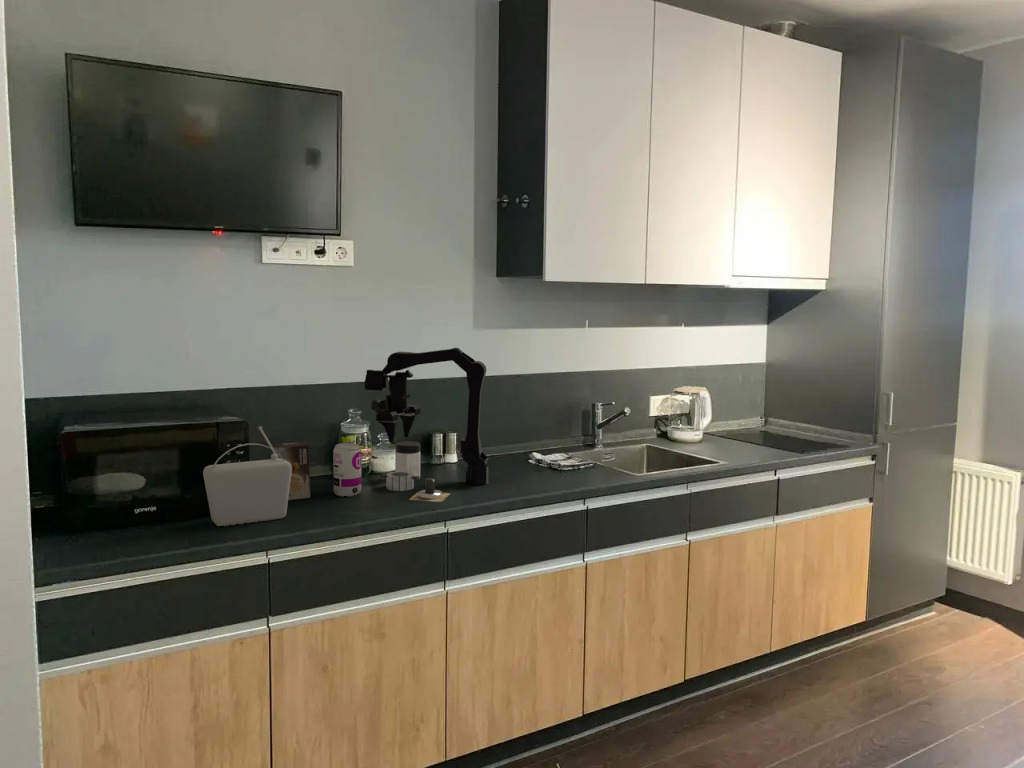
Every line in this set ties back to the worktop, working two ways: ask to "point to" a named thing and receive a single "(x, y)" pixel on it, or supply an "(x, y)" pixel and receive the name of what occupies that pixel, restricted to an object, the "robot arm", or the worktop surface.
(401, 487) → the pot
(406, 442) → the jar
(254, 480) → the radio
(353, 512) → the worktop surface
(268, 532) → the worktop surface
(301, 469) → the coffee box
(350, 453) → the supplement can
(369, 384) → the robot arm
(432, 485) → the lid
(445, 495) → the plate
